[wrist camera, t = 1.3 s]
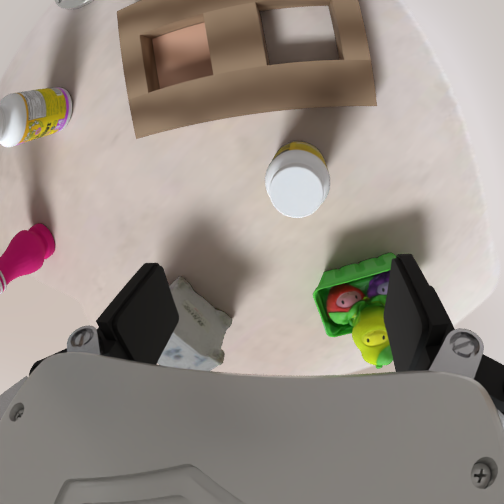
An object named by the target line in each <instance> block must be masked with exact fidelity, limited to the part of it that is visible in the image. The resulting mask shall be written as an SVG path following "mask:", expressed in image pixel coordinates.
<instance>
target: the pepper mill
mask: <svg viewBox="0 0 504 504" xmlns="http://www.w3.org/2000/svg"><path fill="white" fill-rule="evenodd" d="M54 251H55V242H54V239H53V236H52V234H51V232H50V231H49V229H48V228H47V227H46V226H44V225H43V224H41V223H38V224H35V225H34V226H32V227H31V228H30V229H29V231H27V230H23V231H20V232H19V233H18V234H16V235H15V236H14V238H13V239H12V240H11V242H10V244H9V246H8V247H7V249H6V251H5V252H4V254H3V255H2V256H1V257H0V294H2V292H3V291H4V290H6V287H7V284H8V283H9V282H10V281H12V280H13V279H15V278H17V277H19V276H22V275H27V274H31V273H33V272H35V271H37V270H38V269H39V268H41V266H42V265H43V262H44V259H47V258H48V257H50V256H51V255H52V254H53V253H54Z"/></svg>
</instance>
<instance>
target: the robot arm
mask: <svg viewBox="0 0 504 504" xmlns="http://www.w3.org/2000/svg"><path fill="white" fill-rule="evenodd" d="M92 1H93V0H55V2H56V4H57V5H58V6H59V7H61V8H65V9H77V8H80V7H82V6H85V5H86V4H88V3H90V2H92ZM96 322H97V324H98V326H99V328H98V329H96V328H95V327H94V326H83V327H80V328H79V329H77V330H75V331H74V332H73V333H72V334H71V335H70V337H69V338H68V342H67V349H65V350H62V351H60V352H58V353H55V354H53V355H51V356H49V357H46V358H44V359H42V360H39V361H37V362H36V363H34V365H33V366H32V368H31V370H30V373H29V377H27V376H26V377H24V378H23V379H22V380H20V381H19V382H18V383H16V384H15V385H13V386H12V387H11V388H9V389H8V390H7V391H5V392H4V393H3V394H1V395H0V504H504V365H502V364H501V363H498V362H497V361H495V360H493V359H491V358H489V357H487V356H485V355H483V350H484V346H483V342H482V340H481V338H480V337H479V336H478V335H477V334H475V333H474V332H472V331H471V330H467V329H456V330H455V329H454V327H453V325H452V323H451V321H450V319H449V317H448V314H447V313H446V311H445V309H444V307H443V305H442V303H441V301H440V299H439V297H438V295H437V293H436V291H435V290H434V288H433V287H432V286H429V284H428V282H427V280H426V279H425V277H424V275H423V273H422V271H421V270H420V268H419V266H418V264H417V263H416V261H415V259H414V258H413V256H412V255H411V254H398V255H397V256H396V258H393V259H392V261H391V269H390V277H389V284H388V290H387V297H386V303H385V308H384V324H385V328H386V331H387V335H388V339H389V343H390V348H391V352H392V356H393V361H394V365H395V369H396V372H388V373H372V374H354V375H326V376H282V375H254V374H237V373H224V372H212V371H202V370H193V369H184V368H176V367H169V366H162V365H156V364H157V362H158V360H159V358H160V356H161V354H162V352H163V351H164V349H165V347H166V345H167V343H168V341H169V339H170V337H171V335H172V333H173V332H174V330H175V328H176V326H177V324H178V322H179V314H178V311H177V308H176V305H175V302H174V299H173V297H172V294H171V291H170V288H169V285H168V282H167V279H166V276H165V272H164V269H163V267H162V266H160V265H159V264H158V263H145V264H144V265H143V266H142V267H141V268H140V269H139V270H138V271H137V273H136V274H135V275H134V276H133V277H132V278H131V279H130V281H129V282H128V283H127V284H126V285H125V286H124V288H123V289H122V290H121V291H120V292H119V294H118V295H117V296H116V297H115V298H114V300H113V301H112V302H111V303H110V304H109V306H108V307H107V308H106V309H105V311H104V312H103V313H102V314H101V315H100V317H99V318H98V319H97V320H96Z"/></svg>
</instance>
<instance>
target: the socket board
mask: <svg viewBox="0 0 504 504" xmlns="http://www.w3.org/2000/svg"><path fill="white" fill-rule="evenodd" d="M304 6H329V11H330V15H331V19H332V24H333V29H334V34H335V39H336V44H337V49H338V55H339V60H321V61H305V62H293V63H283V64H274V65H269V59H268V53H267V48H266V42H265V37H264V31H263V26H262V21H261V16H260V11H265V10H273V9H281V8H291V7H304ZM117 18H118V29H119V38H120V47H121V54H122V62H123V69H124V75H125V82H126V88H127V94H128V99H129V105H130V110H131V116H132V121H133V126H134V131H135V135H136V139H138V138H141V137H145V136H148V135H152V134H156V133H160V132H163V131H167V130H172V129H176V128H180V127H184V126H189V125H193V124H198V123H203V122H208V121H213V120H219V119H224V118H230V117H236V116H242V115H249V114H256V113H264V112H272V111H281V110H291V109H302V108H316V107H336V106H377V102H376V93H375V85H374V77H373V70H372V64H371V58H370V52H369V47H368V41H367V36H366V31H365V27H364V22H363V18H362V14H361V9H360V5H359V2H358V0H141V1H138V2H136V3H134V4H132V5H130V6H127V7H125V8H123V9H121V10H119V11H117Z"/></svg>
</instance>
